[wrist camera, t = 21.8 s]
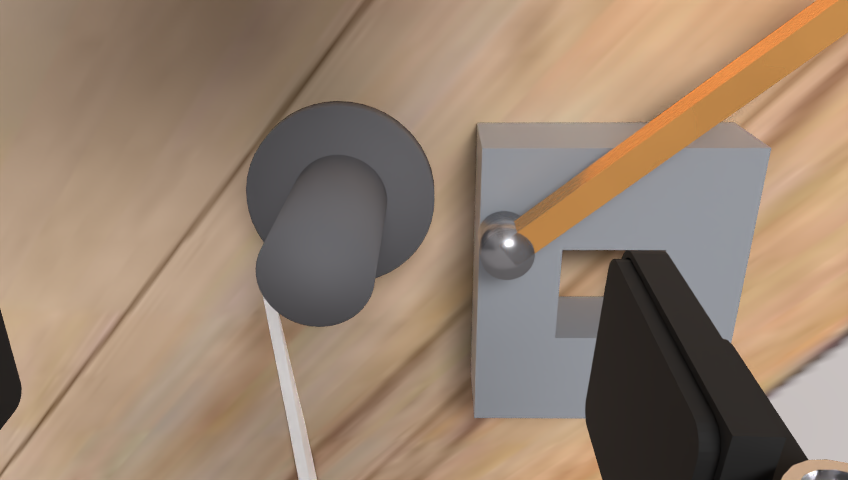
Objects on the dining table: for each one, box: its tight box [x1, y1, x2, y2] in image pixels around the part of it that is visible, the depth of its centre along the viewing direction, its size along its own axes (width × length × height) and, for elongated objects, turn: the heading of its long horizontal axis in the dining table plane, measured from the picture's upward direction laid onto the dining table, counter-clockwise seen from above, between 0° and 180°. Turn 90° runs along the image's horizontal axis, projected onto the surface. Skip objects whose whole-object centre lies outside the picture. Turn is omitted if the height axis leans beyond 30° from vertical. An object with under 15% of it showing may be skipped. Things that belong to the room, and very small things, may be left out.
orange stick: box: [478, 0, 848, 280], centre depth 28 cm, size 20×2×2 cm, turn 130°
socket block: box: [471, 122, 771, 418], centre depth 34 cm, size 12×14×4 cm
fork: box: [263, 297, 317, 480], centre depth 41 cm, size 3×20×2 cm, turn 6°
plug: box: [246, 101, 434, 327], centre depth 29 cm, size 8×8×12 cm
